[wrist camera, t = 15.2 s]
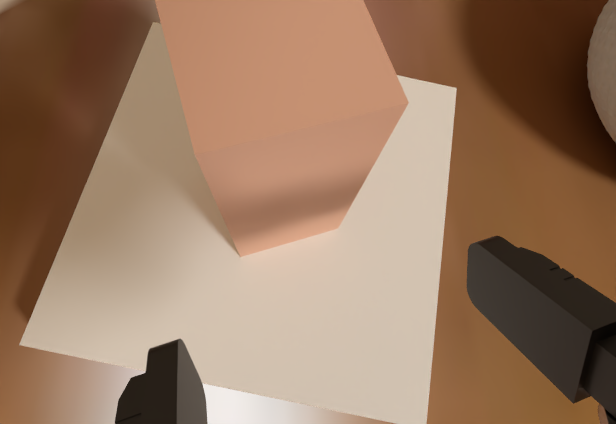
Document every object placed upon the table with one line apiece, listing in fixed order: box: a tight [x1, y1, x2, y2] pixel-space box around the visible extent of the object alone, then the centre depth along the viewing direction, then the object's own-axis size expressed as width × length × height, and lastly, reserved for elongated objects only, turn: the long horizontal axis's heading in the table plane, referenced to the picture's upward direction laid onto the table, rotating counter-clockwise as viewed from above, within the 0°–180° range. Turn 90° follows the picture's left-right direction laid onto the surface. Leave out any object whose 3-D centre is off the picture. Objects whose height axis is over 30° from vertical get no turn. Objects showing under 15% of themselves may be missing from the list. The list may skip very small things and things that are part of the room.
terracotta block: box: [155, 0, 409, 257], centre depth 15 cm, size 5×5×11 cm
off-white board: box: [19, 22, 457, 424], centre depth 21 cm, size 18×18×2 cm
